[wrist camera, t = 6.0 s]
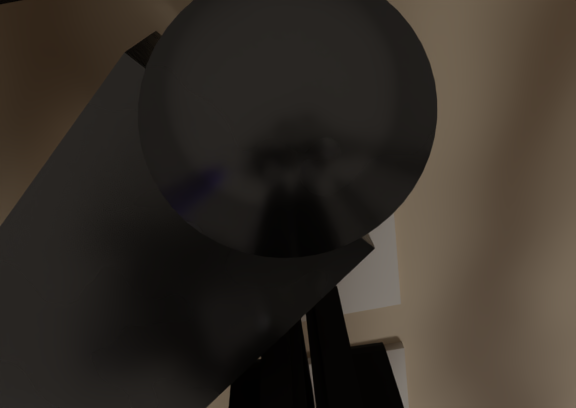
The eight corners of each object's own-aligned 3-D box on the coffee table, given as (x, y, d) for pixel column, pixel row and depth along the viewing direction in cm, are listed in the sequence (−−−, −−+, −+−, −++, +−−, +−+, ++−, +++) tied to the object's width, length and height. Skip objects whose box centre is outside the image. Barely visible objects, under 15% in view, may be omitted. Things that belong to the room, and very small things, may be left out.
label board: (690, -124, 12) (995, -185, 7) (598, 409, 20) (709, 550, 16) (-176, 37, 12) (-461, 86, 7) (86, 499, 21) (35, 665, 16)
